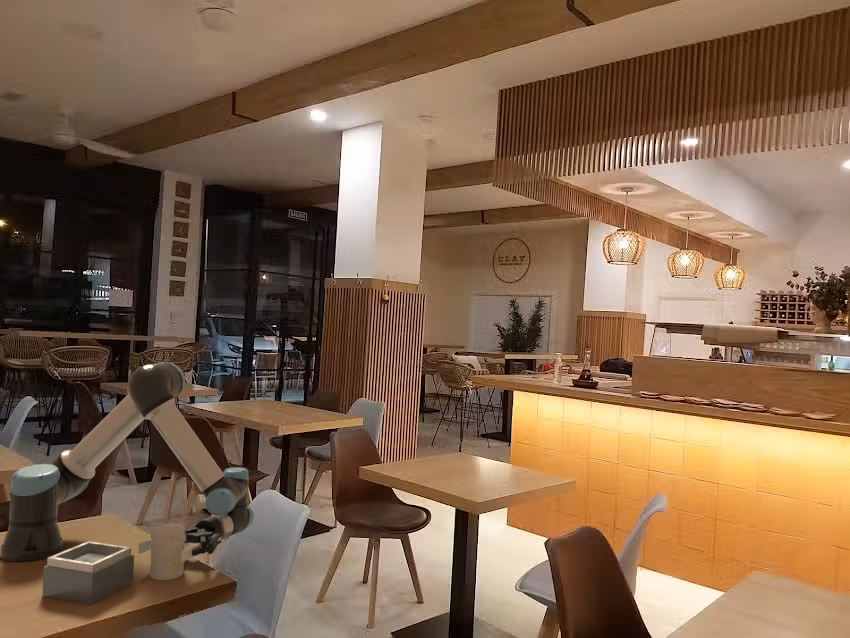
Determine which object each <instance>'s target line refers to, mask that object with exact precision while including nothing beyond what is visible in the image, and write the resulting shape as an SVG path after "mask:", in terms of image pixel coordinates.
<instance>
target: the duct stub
mask: <svg viewBox="0 0 850 638" xmlns="http://www.w3.org/2000/svg"><path fill="white" fill-rule="evenodd" d="M46 559H47V563H46V565H45V566H43V578H42V597H46V598H51V599H56V600H60V601H61V600H62V601H66V602H73V603H78V604H83V605H88V606H92V605H94V604H96V603H98V602H100V601H101V599H102V600H103V599H105V598H107V597H109V596H111V595H113V594H115V593H117V592H119V591H121V590H122V589H124V588H126V587H128V586H130V585H132V584H133V583H134V571H135V570H134V568H135V566H134V565H135V554H132V547H130V546H124V545H117V544H110V543H102V542H98V541H97V542H96V541H90V540H88V541H86V542H83V543H81V544H78V545H76V546H73V547H71V548H68V549H66V550H62V551H61V552H59V553H58V554H55V555H53V556H50V557H47V558H46Z"/></svg>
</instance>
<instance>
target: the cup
mask: <svg viewBox="0 0 850 638" xmlns="http://www.w3.org/2000/svg"><path fill="white" fill-rule="evenodd" d="M185 527H186V525H184V524H181V523H162V524H159V525H156V526H154V527H152V530H151V533H152V544H151V550H150V568H149V569H150V570H149V571H150V572H149V573H150V574H149V575H150V578H151V579H153V580H157V581H166V580H167V581H168V580H174V579H177V578H179V577H182V575H183V574H184V569H185V567H184V564H185V561H184V562H181V551H182V550H184V549H185V545H186V543H185V540H186V535H185V530H186V529H185Z"/></svg>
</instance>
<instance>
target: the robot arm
mask: <svg viewBox="0 0 850 638" xmlns="http://www.w3.org/2000/svg"><path fill="white" fill-rule="evenodd" d="M128 379H129V380H128V383H127V384H128V385H127V386H128V387H127V388H126V389H127V392H126V393H127V395H126V396H125V397H124V398H123V399H121V401H120V402H119V403H118V404H117V405H116V406H115V407H114V408H113V409H112V410H111V411H110V412H109V413H107V415H106V416H105V417H103V419H102V420H100V422H99V423H98V424H97V425H96V426H95V427H94V428H93V429H92V430H90V432H88V434H86V436H85V437H84V438H83V439H82V440H80V441H79V442H78V444H77V445H75V447H73V449H67V450H63V451H62V452H61V453H60V454H59V455H58V456H57V457H56V458H55V459H54V460H53V461H52V462H51V463H41V464H33V465H31V466H29V465H28V466H24V467H21V468H19V469H18V470H16V471H15V472H14V473H13V474H12V476H11V481H10V486H9V490H10V493H9V516H8V520H9V521H8V529H7V532H6V534H5V537H4V540H3V543H2V544H1V546H0V559H2V560H4V561H8V562H31V561H38V560H42V559H48V557H51V556H53V555H56V554H58V553H61V552H63V550H64V549H63V548H64V540H63V537H62V536H61V535H62V534H61V531H60V527H59V525H58V508H59V505H60V504H63V503H65V502H66V501H69V500H71V499H74V498H75V497H77V496H79V495H80V494H81V493H83V491H84V490H85V489H86V488H87V487H88V485H89V483H90V481H91V480H92V479H93V478H94V477H95V474H96V468H97V466H99V465H100V464H101V462H103V461H104V460H105V459H106V458H107V457H108V456H109V455H110V454H111V453H112V452H113V451H114V450H115V449H116V448H117V447H118V446H119V445H120V444H121V443H122V442H123V441H124V440H125V439H126V438H127V437H128V436H129V435H130V434H131V433H132V432H133V431H134V430H135V429H136V428H137V427H138V426H139V425H140V424H141V423H142V422H143V421H144V420H150V421H151V423H152V424H153V426H154V427H155V428H156V430H157V431H158V432H159V434H160V435H161V437H162V439H163V440H164V441H165V442H166V444H167V445H168V447H169V448H170V449H171V451H172V453H173V454H174V455H175V456H176V458H177V459H178V461H179V462H180V464H181V465H182V466H183V467H184V469H185V471H186V472H187V473H188V475H189V476H190V477H191V479H192V481H193V482H194V483H195V484H196V486H197V487H198V489H199V491H200V492H201V493H202V495H203V496H204V497H205V508H206V510H207V511H208V513H210V514H212V515H211V516H209V517H206V518H204V519H201V520H199V521H198V522H197V523H196V525H195V526H194V527H191V528H188V529H186V526H185V544H189V543H190V544H193V545H191V546H188V547H187V548H184V550H182V551H181V562H184V563H185V562H186V561H188V560H190V559H191V558H194V557H196V556H199V555H200V554H201V555H204V554H206V553H207V554H208V555H213V553H214V552H215V551H216V548H217V547H218V546H219V545H220V544H221V543H222V541H223V540H224V539H227V538H229V537H231V536H233V535H235V534H238V533H241V532H243V531H245V530H246V529H248V528H249V527H250V526H251V525H252V524H253V522H254V519H255V514H254V512H253V508H252V507H251V506H249V505H248V496H249V481H250V479H249V470H248V469H247V468H245V467H236V466H235V467H229V468H225V469H224V470H223V471H222V470H221V468H220V466H218V464H217V463H216V461H215V459H214V458H213V457H212V455H211V454H210V453H209V451H208V450H207V448H206V447H205V445H204V444H203V443H202V441H201V440H200V439H199V437H198V435H197V434H196V432H195V431H194V430H193V428H192V427H191V426H190V424H189V423H188V421H187V420H186V418H185V417H184V415H183V414H182V413H181V412H180V409H178V407H177V405H176V404H175V402H176V398H178V397H180V395H181V394H182V393H183V391H184V389H185V386H186V376H185V374H184V371H183V370H182V369H181V368H180V367H179V366H178V365H176V364H174V363H172V362H168V361H159V362H157V363H151V364H145V365H142V366H139V367H137V368H136V369H135V370H134V371H133V372H132V374H131V375H130V377H129V378H128ZM150 536H151V537H150V538H148V539H145V540H143V541H140V542H138V554H141V555H142V554H144V553H146V552H148V551H151V544H152V532H151V534H150Z"/></svg>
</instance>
